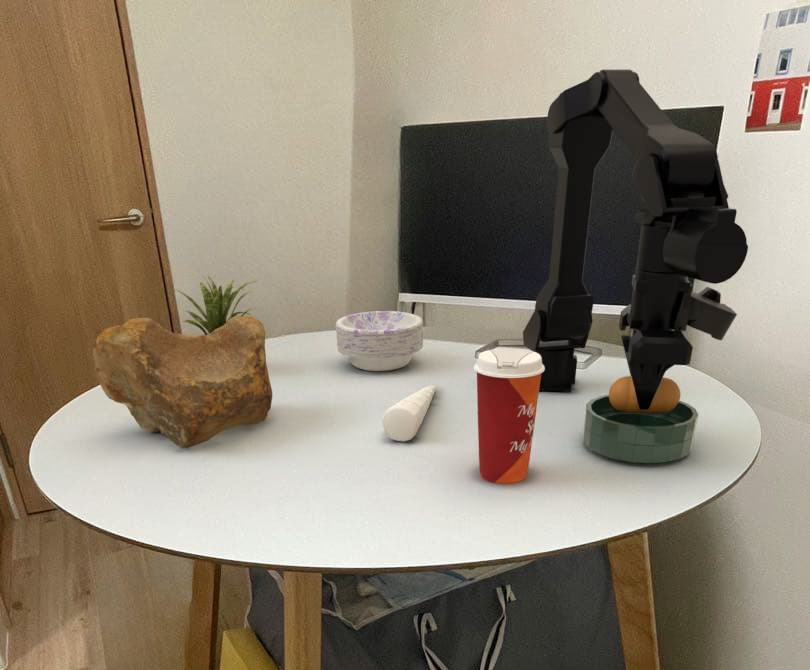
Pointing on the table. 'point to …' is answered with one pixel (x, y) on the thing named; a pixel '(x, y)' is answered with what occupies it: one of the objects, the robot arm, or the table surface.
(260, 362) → the rough brown rock
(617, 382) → the bread roll
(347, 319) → the paper bowls
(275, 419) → the table surface
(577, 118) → the robot arm
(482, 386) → the paper cup
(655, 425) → the green pet bowl
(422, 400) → the unicorn horn
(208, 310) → the house plant
